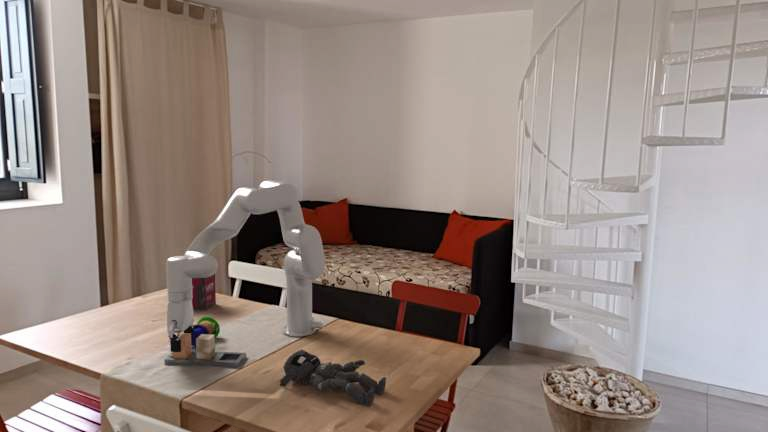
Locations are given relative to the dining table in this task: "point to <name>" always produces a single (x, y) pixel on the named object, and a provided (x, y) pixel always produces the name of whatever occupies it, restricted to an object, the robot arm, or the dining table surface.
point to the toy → (205, 328)
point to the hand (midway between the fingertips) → (182, 345)
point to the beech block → (205, 347)
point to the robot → (331, 376)
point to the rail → (218, 360)
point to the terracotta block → (184, 346)
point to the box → (203, 293)
